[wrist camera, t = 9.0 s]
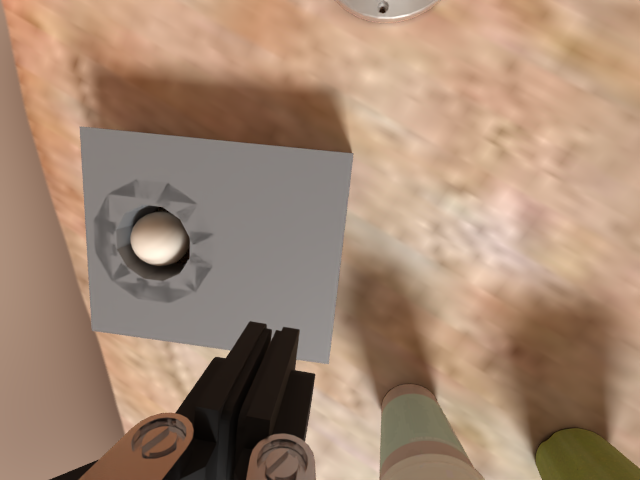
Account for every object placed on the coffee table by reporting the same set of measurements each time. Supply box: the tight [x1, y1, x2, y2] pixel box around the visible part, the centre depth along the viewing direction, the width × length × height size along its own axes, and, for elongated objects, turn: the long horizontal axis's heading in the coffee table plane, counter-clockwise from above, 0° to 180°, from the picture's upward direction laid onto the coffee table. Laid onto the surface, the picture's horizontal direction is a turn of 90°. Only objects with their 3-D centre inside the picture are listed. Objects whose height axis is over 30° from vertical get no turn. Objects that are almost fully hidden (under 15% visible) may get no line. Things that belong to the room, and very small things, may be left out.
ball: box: [130, 212, 190, 266], centre depth 31 cm, size 5×5×5 cm
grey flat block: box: [80, 127, 353, 364], centre depth 30 cm, size 18×22×5 cm
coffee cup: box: [380, 384, 485, 480], centre depth 29 cm, size 8×8×12 cm
